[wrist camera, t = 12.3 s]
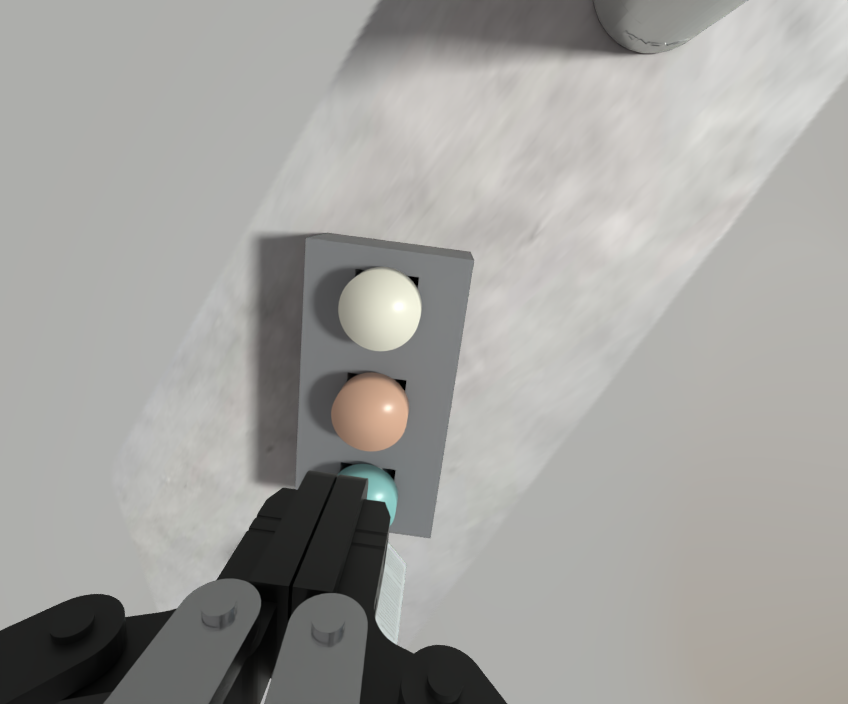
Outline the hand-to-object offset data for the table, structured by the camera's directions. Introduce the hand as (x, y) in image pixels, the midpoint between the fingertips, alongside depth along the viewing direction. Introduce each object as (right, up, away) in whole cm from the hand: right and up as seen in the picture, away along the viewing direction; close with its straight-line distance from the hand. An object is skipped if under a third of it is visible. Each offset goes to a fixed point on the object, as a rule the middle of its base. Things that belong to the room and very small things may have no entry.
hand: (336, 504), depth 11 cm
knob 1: (0, +9, +27) cm, 28 cm away
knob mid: (-1, +1, +29) cm, 29 cm away
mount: (-1, +2, +30) cm, 30 cm away
